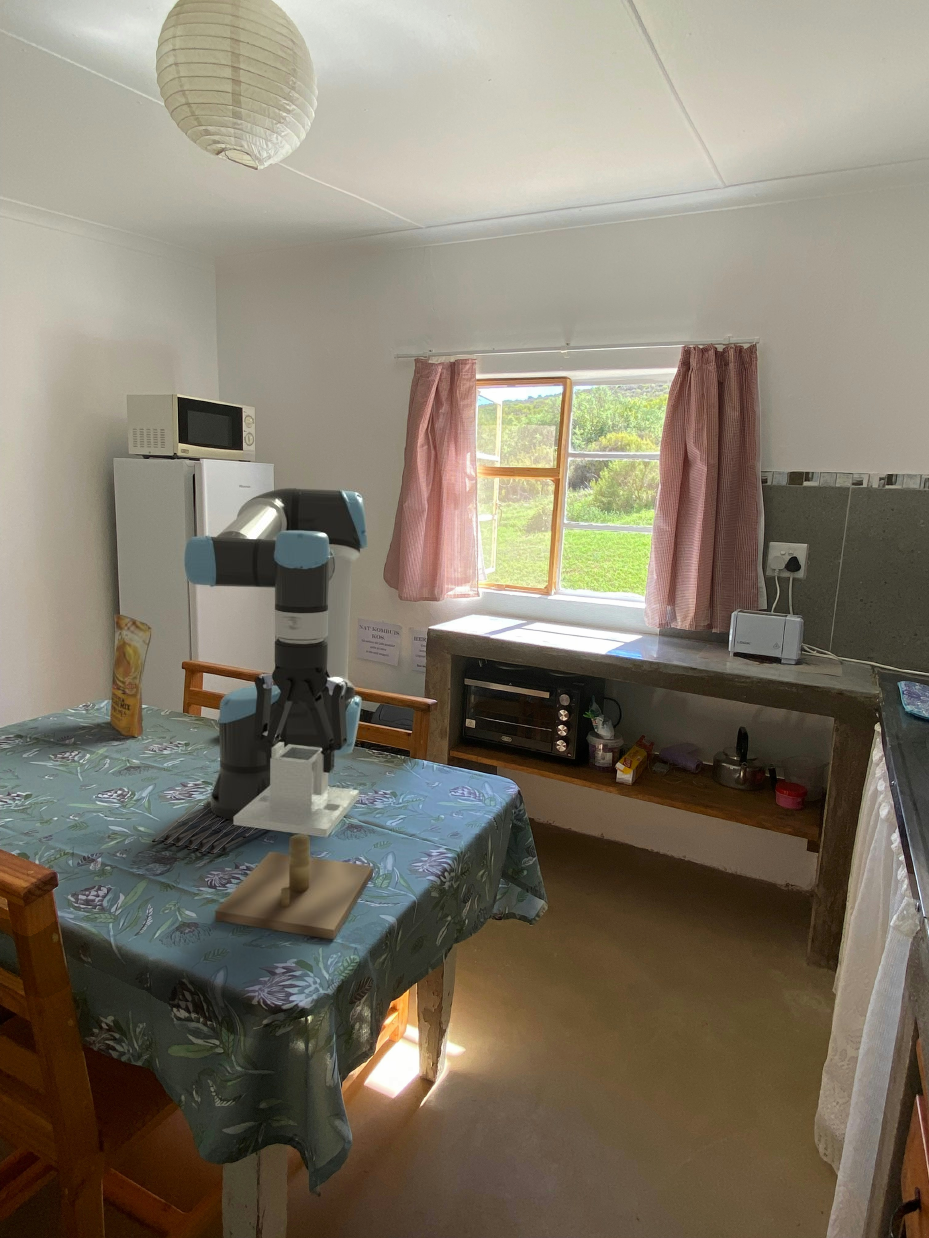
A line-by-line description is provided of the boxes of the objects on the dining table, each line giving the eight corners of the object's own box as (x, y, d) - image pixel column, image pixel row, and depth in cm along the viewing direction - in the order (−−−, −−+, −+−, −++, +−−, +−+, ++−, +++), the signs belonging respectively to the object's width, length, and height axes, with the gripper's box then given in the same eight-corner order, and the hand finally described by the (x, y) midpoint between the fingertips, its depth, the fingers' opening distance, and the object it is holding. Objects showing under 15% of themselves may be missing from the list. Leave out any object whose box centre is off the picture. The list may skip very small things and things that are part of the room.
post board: (215, 920, 105) (214, 859, 103) (270, 859, 122) (270, 806, 120) (333, 939, 102) (334, 877, 100) (372, 874, 119) (374, 820, 117)
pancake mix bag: (130, 715, 191) (127, 611, 186) (157, 736, 178) (154, 624, 173) (103, 720, 187) (99, 613, 182) (128, 741, 173) (124, 626, 168)
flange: (233, 824, 103) (233, 764, 102) (276, 787, 117) (276, 734, 115) (326, 837, 101) (327, 776, 99) (359, 797, 115) (360, 743, 113)
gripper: (226, 637, 103) (227, 791, 107) (356, 649, 99) (353, 807, 103) (251, 628, 110) (251, 772, 114) (373, 639, 107) (369, 786, 110)
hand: (299, 788), depth 108 cm, fingers closed on flange, 6 cm apart
